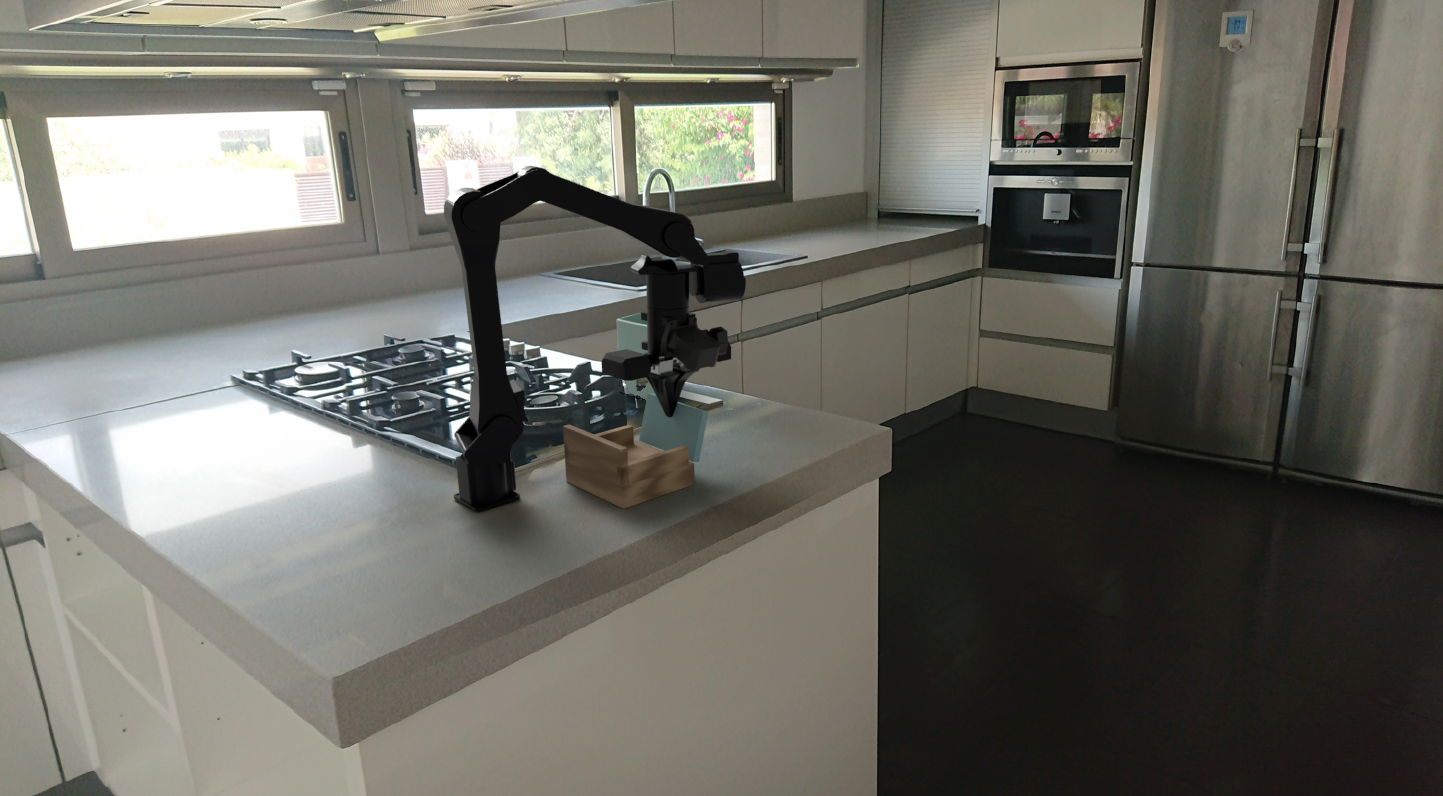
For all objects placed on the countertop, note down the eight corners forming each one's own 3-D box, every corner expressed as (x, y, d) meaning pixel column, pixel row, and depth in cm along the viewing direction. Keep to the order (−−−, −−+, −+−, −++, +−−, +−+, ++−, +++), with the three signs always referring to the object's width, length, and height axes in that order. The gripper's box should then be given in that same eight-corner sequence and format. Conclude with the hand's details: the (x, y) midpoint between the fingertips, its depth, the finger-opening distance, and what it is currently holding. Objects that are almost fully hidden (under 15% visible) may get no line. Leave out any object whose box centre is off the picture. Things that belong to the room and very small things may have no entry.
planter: (621, 380, 179) (617, 275, 173) (663, 379, 179) (660, 275, 174) (616, 406, 163) (611, 292, 158) (663, 405, 164) (659, 291, 158)
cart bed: (623, 508, 121) (620, 449, 119) (566, 481, 130) (562, 426, 128) (694, 484, 129) (693, 428, 127) (636, 459, 138) (633, 407, 136)
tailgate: (693, 461, 129) (703, 411, 128) (639, 440, 137) (647, 393, 136) (703, 461, 130) (712, 412, 129) (648, 440, 138) (657, 393, 138)
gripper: (650, 324, 116) (652, 445, 120) (759, 305, 128) (758, 416, 132) (597, 311, 124) (601, 425, 128) (705, 294, 136) (705, 399, 140)
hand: (669, 416), depth 132 cm, fingers closed
